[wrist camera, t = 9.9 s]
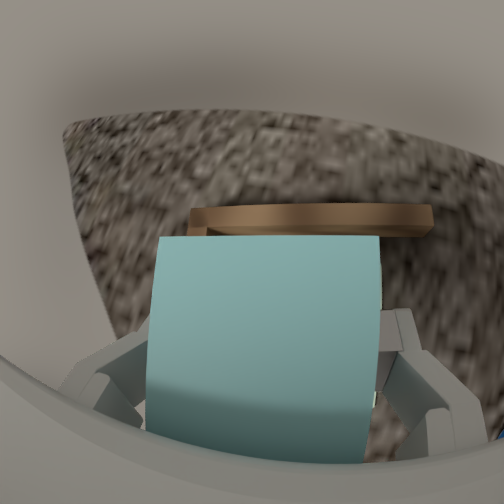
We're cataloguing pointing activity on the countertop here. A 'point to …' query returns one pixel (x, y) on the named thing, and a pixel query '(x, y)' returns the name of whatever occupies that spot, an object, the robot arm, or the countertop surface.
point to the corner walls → (313, 220)
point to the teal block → (265, 345)
